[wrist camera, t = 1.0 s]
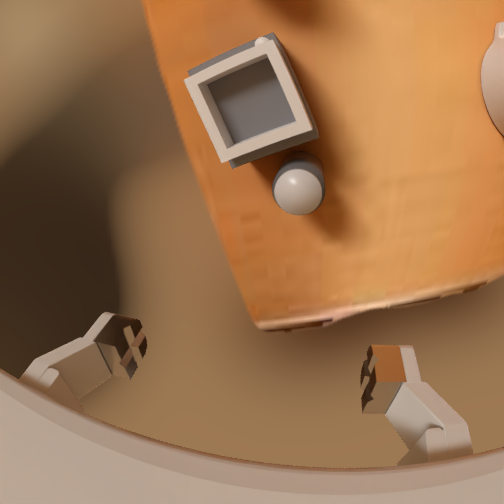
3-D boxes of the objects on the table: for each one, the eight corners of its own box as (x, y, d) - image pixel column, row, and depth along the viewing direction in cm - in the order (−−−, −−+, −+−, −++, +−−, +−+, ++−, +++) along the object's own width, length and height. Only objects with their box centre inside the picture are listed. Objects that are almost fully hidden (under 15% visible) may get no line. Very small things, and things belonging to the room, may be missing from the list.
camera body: (280, 42, 27) (269, 26, 20) (318, 130, 32) (319, 142, 24) (207, 73, 30) (176, 70, 23) (245, 156, 35) (225, 175, 28)
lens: (315, 145, 33) (314, 159, 26) (329, 185, 35) (332, 209, 28) (274, 159, 34) (262, 177, 28) (289, 197, 36) (282, 224, 30)
